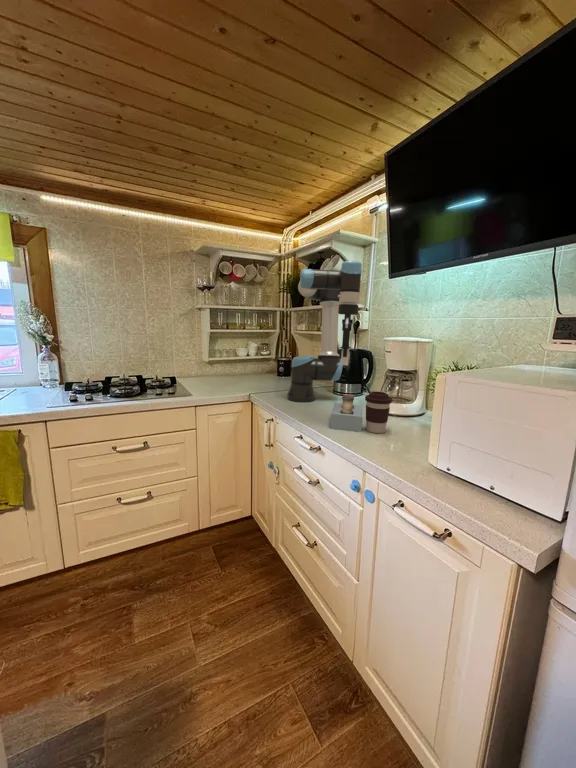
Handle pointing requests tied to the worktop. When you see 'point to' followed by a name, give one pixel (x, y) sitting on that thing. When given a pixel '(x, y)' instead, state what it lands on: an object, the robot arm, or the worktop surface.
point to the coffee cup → (377, 411)
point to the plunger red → (349, 395)
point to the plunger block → (346, 418)
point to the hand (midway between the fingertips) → (344, 364)
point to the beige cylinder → (347, 404)
